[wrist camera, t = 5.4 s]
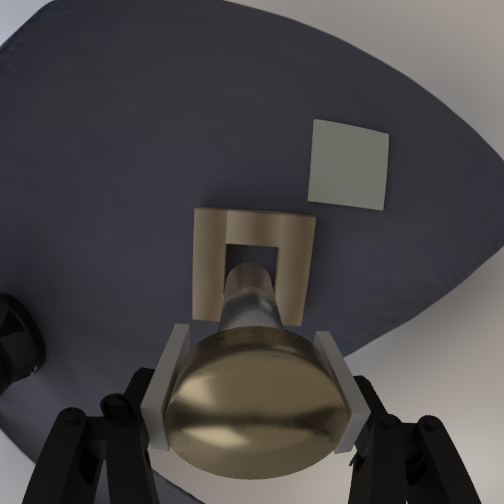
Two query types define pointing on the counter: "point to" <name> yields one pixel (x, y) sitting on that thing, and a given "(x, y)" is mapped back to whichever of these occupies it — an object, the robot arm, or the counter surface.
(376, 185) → the rubber mat
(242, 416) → the steel peg
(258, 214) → the plate
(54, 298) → the counter surface
